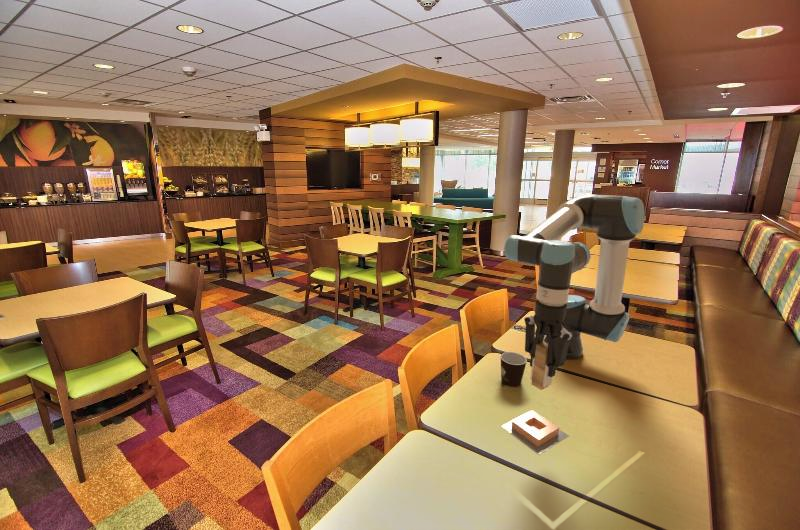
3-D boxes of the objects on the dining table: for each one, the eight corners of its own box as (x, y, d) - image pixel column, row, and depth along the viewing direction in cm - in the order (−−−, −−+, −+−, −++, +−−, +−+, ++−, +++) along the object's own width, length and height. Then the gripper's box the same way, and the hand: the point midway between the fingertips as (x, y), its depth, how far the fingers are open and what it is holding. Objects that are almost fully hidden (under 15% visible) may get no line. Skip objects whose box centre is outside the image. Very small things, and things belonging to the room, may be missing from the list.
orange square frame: (531, 416, 113) (532, 410, 112) (558, 434, 105) (559, 427, 105) (511, 427, 108) (512, 420, 107) (537, 446, 101) (538, 440, 100)
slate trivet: (530, 413, 115) (530, 410, 115) (568, 438, 105) (569, 435, 105) (501, 428, 109) (501, 426, 108) (539, 457, 98) (539, 454, 98)
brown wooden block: (538, 380, 104) (543, 341, 101) (548, 386, 102) (554, 346, 99) (531, 384, 103) (536, 344, 100) (541, 390, 100) (546, 349, 97)
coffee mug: (525, 392, 126) (528, 366, 123) (498, 389, 127) (501, 363, 125) (521, 374, 137) (524, 349, 134) (497, 371, 138) (499, 346, 136)
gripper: (516, 294, 100) (507, 372, 107) (571, 314, 87) (558, 402, 94) (534, 289, 104) (525, 364, 111) (589, 308, 91) (576, 392, 98)
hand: (540, 381), depth 102 cm, fingers closed on brown wooden block, 3 cm apart
